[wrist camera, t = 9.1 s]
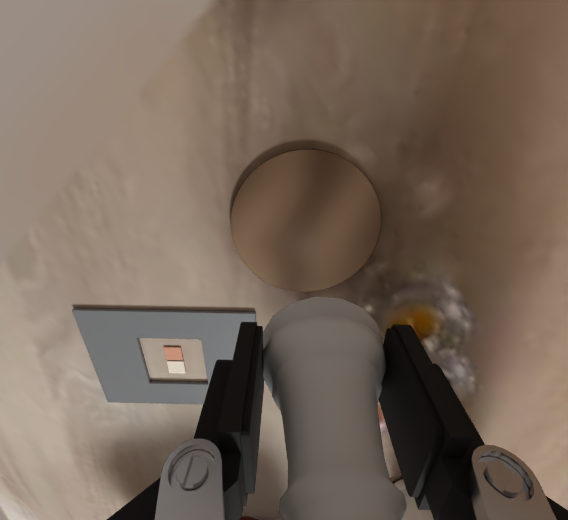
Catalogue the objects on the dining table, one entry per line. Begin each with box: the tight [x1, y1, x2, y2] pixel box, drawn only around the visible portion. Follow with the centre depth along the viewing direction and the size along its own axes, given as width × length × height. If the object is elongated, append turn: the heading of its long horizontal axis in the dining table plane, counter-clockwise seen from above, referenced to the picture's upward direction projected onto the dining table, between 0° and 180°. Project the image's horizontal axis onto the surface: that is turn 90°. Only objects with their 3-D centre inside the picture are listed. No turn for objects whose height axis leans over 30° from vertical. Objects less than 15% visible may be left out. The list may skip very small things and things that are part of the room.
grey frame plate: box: [72, 308, 256, 404], centre depth 29 cm, size 16×12×1 cm
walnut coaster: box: [231, 149, 381, 292], centre depth 22 cm, size 11×11×1 cm
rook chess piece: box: [262, 297, 407, 520], centre depth 8 cm, size 4×4×8 cm
